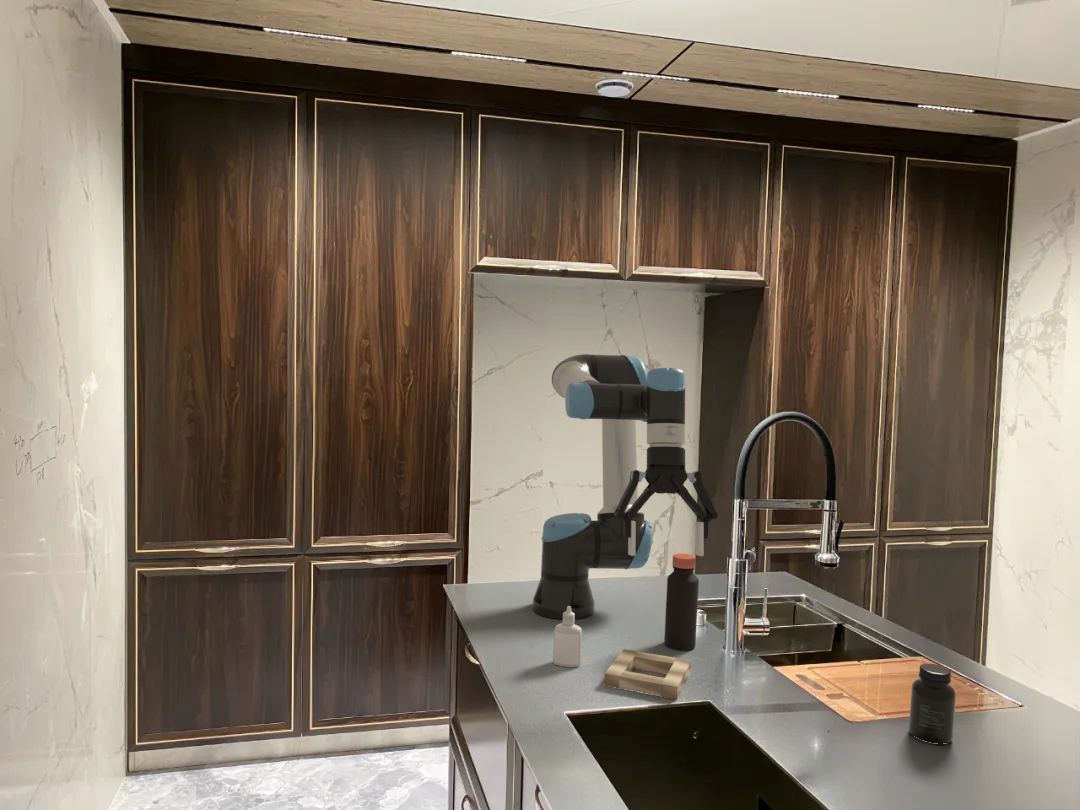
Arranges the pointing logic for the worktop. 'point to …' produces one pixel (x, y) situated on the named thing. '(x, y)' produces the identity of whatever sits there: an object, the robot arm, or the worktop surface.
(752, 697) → the worktop surface
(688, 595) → the vinegar
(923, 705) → the supplement bottle
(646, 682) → the square wooden frame
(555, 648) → the eye dropper bottle
